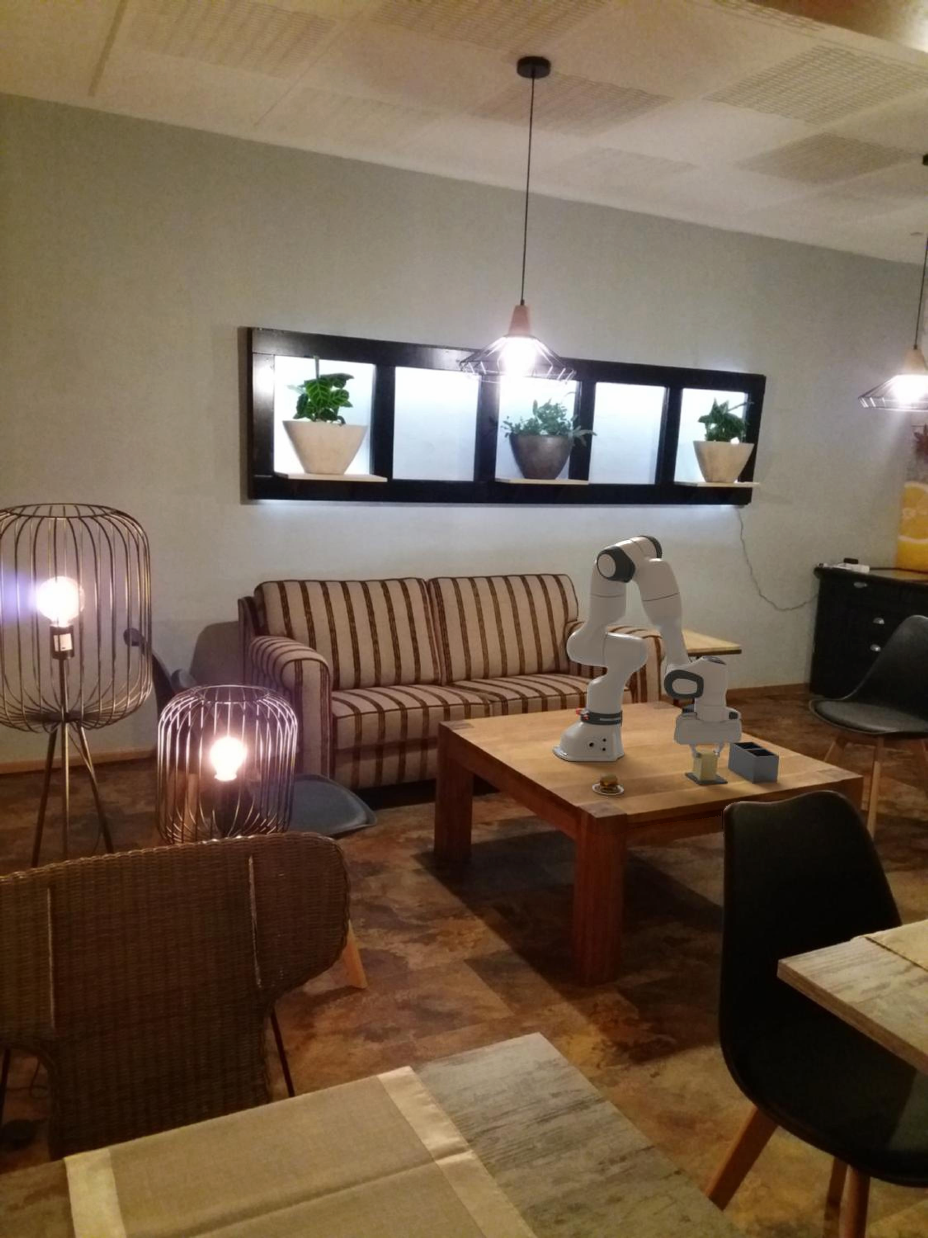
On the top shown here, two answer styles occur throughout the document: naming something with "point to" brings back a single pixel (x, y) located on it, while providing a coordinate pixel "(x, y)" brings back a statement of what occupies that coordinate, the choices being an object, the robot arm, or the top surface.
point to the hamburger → (608, 784)
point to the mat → (718, 781)
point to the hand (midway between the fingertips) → (705, 757)
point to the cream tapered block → (705, 765)
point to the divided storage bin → (753, 762)
